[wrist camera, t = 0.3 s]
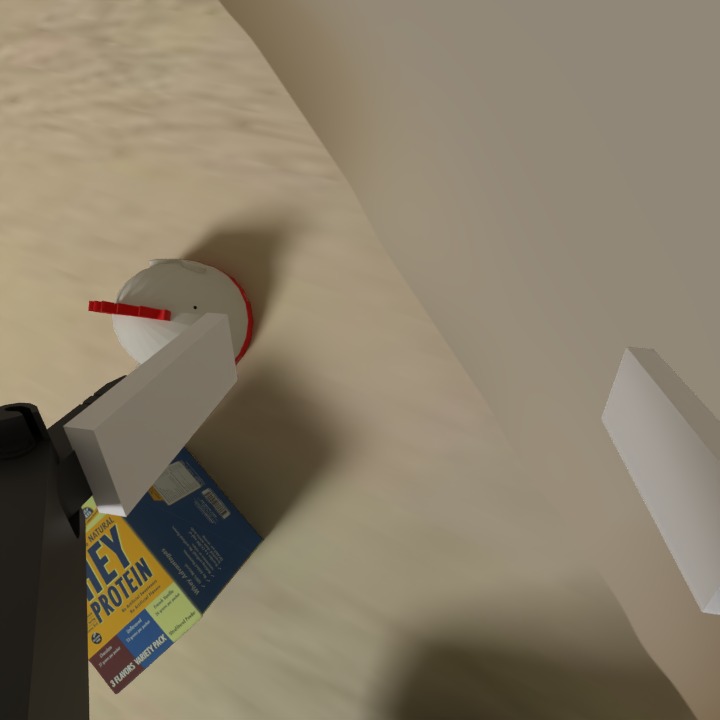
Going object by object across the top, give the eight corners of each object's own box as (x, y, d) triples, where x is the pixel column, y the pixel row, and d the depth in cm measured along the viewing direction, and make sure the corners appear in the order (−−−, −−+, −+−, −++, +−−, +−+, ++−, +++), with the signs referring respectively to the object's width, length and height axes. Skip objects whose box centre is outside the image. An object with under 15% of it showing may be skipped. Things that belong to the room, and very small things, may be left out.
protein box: (202, 597, 50) (114, 699, 35) (121, 498, 52) (1, 554, 36) (266, 540, 50) (205, 617, 34) (181, 441, 51) (86, 473, 36)
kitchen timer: (245, 388, 50) (174, 398, 35) (138, 373, 52) (28, 377, 37) (259, 271, 50) (194, 233, 35) (152, 260, 52) (47, 219, 37)
